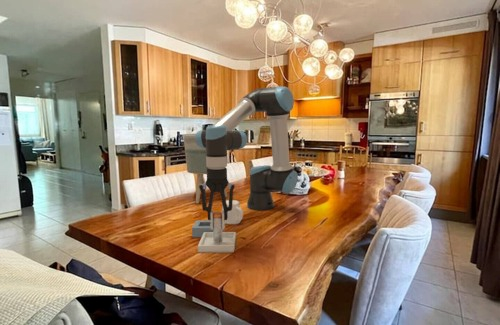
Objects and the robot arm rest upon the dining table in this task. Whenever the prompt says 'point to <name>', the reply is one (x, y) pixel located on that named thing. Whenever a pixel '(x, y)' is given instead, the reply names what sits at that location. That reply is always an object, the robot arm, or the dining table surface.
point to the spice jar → (217, 227)
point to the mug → (234, 213)
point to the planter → (196, 161)
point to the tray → (211, 246)
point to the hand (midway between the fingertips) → (217, 227)
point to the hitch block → (201, 228)
